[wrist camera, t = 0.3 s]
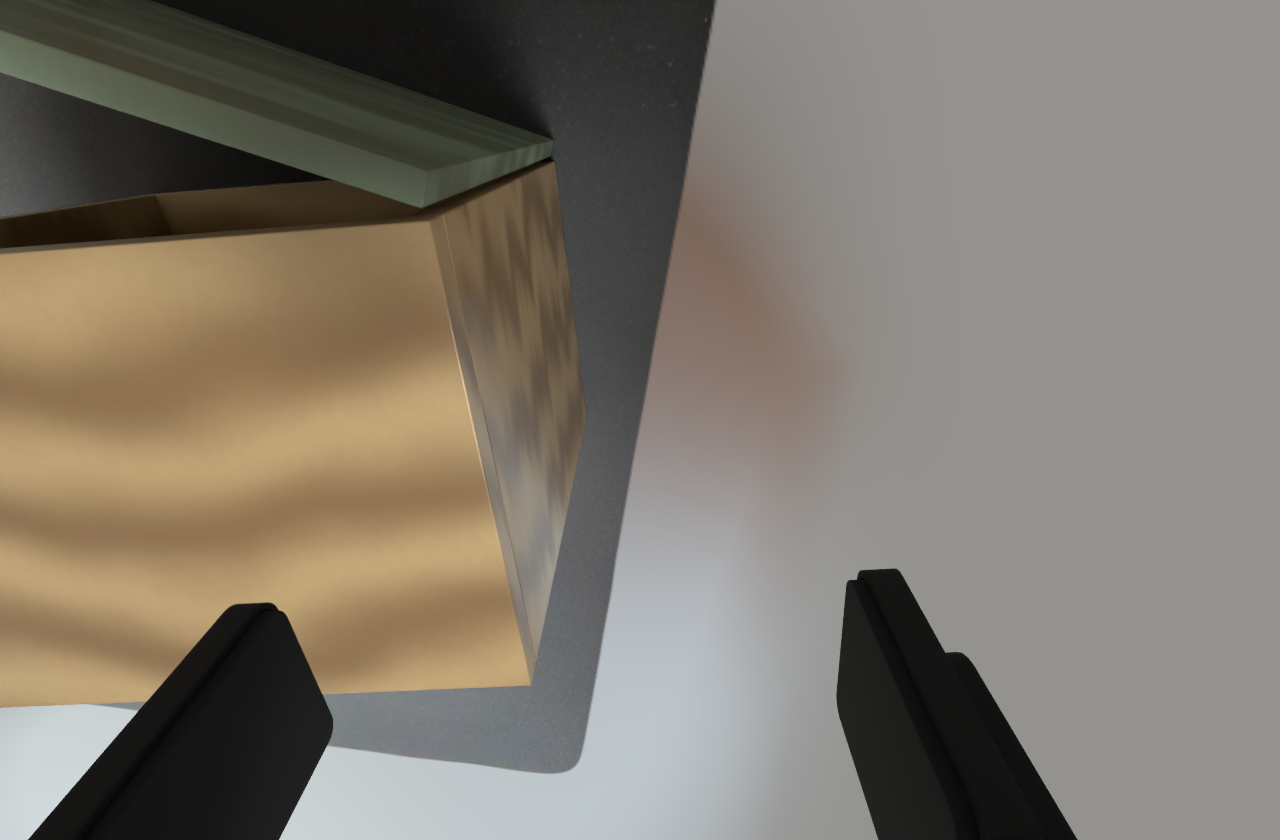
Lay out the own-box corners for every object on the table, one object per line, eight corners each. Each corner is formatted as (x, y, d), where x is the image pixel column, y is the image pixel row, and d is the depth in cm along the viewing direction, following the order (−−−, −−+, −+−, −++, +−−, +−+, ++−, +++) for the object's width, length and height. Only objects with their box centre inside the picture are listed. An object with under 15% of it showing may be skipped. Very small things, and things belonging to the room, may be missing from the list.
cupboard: (151, 193, 39) (-467, 289, 18) (554, 161, 38) (429, 220, 16) (250, 437, 47) (-89, 712, 26) (586, 417, 46) (531, 686, 24)
